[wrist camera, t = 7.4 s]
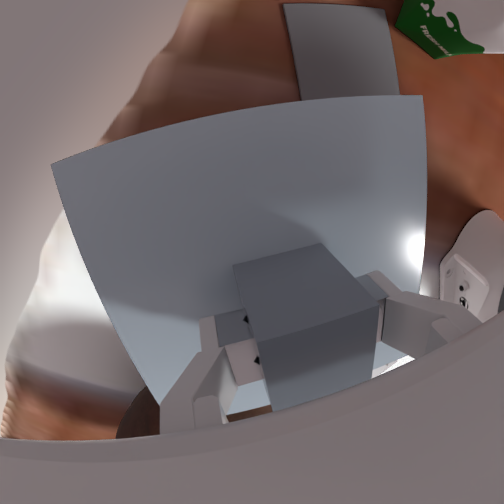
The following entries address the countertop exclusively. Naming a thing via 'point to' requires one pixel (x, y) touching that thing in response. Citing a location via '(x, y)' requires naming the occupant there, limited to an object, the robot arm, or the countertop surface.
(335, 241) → the lid
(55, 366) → the countertop surface
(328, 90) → the mat
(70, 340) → the countertop surface
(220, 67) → the countertop surface
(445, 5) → the milk carton
